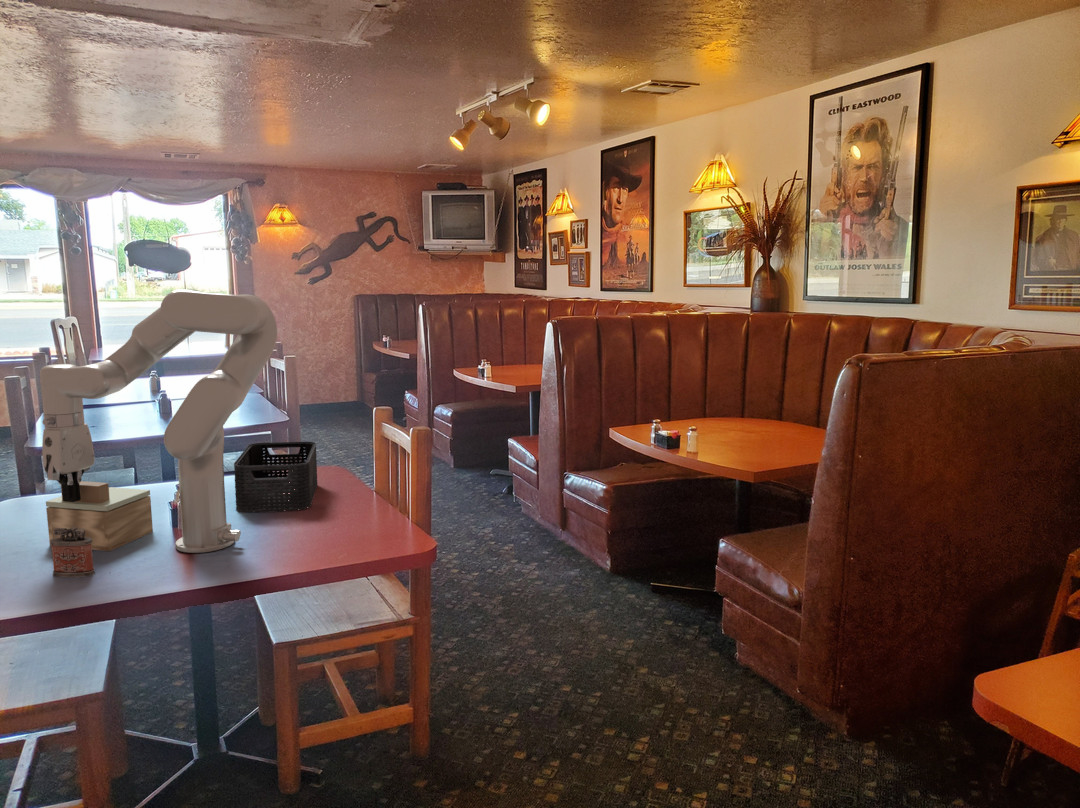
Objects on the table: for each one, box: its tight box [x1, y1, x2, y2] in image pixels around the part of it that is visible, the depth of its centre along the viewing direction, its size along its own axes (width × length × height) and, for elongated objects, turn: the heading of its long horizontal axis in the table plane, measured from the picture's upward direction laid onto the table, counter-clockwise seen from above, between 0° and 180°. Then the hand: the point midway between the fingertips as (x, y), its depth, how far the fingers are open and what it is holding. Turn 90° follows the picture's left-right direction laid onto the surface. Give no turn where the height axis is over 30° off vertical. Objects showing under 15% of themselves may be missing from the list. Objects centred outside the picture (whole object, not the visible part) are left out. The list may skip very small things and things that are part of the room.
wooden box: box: [45, 495, 154, 552], centre depth 181 cm, size 16×14×9 cm
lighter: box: [49, 527, 96, 578], centre depth 159 cm, size 8×3×10 cm, turn 92°
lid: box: [45, 480, 151, 511], centre depth 180 cm, size 16×14×5 cm
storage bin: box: [233, 441, 318, 514], centre depth 217 cm, size 29×19×13 cm
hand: (71, 500), depth 172 cm, fingers closed
